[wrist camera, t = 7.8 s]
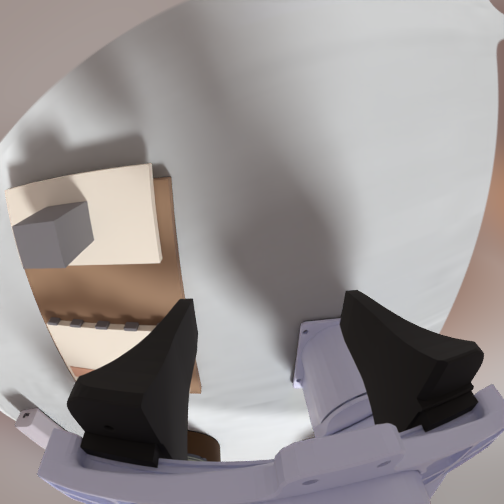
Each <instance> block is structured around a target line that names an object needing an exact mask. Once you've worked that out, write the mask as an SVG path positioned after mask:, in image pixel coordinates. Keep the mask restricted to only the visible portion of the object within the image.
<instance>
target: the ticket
mask: <svg viewBox="0 0 504 504" xmlns="http://www.w3.org/2000/svg"><path fill="white" fill-rule="evenodd" d="M46 324H47V327H48V329H49V331H50V333H51V335H52V337H53V339H54V341H55V344H56V346H57V348H58V350H59V351H60V353H61V355H62V357H63V359H64V361H65V363H66V365H67V366H68V368H69V370H70V372H71V374H72V375H73V377H74V379H75V380H76V381H77V379H78V377H79V376H81V375H84V374H86V373H89V372H91V371H93V370H96V369H98V368H100V367H102V366H104V365H106V364H108V363H110V362H112V361H113V360H115V359H117V358H118V357H120V356H121V355H123V354H124V353H126V352H127V351H129V350H130V349H132V348H133V347H134V346H136V345H137V344H138V343H139V342H140V341H142V340H143V339H144V338H145V337H146V336H147V335H148V334H149V333H150V332H151V331H152V330H153V329H154V328H155V327H156V326H155V325H139V323H138V322H126V324H125V325H123V324H110V322H109V321H98V322H97V323H88V322H84V321H83V320H80V319H73V320H72V321H63V320H60V318H56V317H51V318H50V319H49V321H48V322H47V323H46ZM158 324H159V323H157V325H158ZM189 394H190V391H189Z"/></svg>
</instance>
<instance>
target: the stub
mask: <svg viewBox="0 0 504 504" xmlns="http://www.w3.org/2000/svg"><path fill="white" fill-rule="evenodd" d="M5 196H6V202H7V208H8V213H9V218H10V222H11V227H12V231H13V235H14V239H15V243H16V246H17V250H18V254H19V257H20V260H21V264H22V266H23V268H24V269H44V268H66V267H67V266H70V265H113V264H150V263H160V262H161V260H162V252H161V245H160V238H159V230H158V222H157V214H156V205H155V195H154V185H153V173H152V163H147V164H138V165H130V166H122V167H115V168H108V169H101V170H95V171H89V172H83V173H77V174H72V175H67V176H61V177H56V178H52V179H47V180H42V181H38V182H34V183H29V184H25V185H21V186H17V187H13V188H10V189H7V190H5Z"/></svg>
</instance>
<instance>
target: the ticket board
mask: <svg viewBox="0 0 504 504" xmlns="http://www.w3.org/2000/svg"><path fill="white" fill-rule="evenodd" d="M153 185H154V195H155V205H156V214H157V222H158V230H159V238H160V245H161V252H162V260H161V262H160V263H150V264H113V265H70V266H67V267H66V268H44V269H25V272H26V275H27V278H28V281H29V284H30V287H31V289H32V292H33V295H34V297H35V300H36V303H37V305H38V308H39V310H40V312H41V315H42V317H43V319H44V322H45V324H46V323H47V322H48V321H49V319H50V318H51V317H56V318H60V320H63V321H72V320H73V319H80V320H83V321H84V322H88V323H97V322H98V321H109V322H110V324H123V325H125V324H126V322H138V323H139V325H155V326H157V323H160V322H161V321H162V319H163V318H164V317H165V316H166V315H167V314H168V312H169V311H170V310H171V309H172V308H173V306H174V305H175V304H176V303H177V301H178V300H179V299H185V295H184V289H183V282H182V275H181V267H180V260H179V252H178V243H177V235H176V225H175V216H174V205H173V193H172V180H171V177H163V178H153ZM46 326H47V324H46ZM47 328H48V327H47ZM48 331H49V329H48ZM49 333H50V331H49ZM50 335H51V333H50ZM51 337H52V335H51ZM52 339H53V337H52ZM53 341H54V339H53ZM54 343H55V341H54ZM55 345H56V344H55ZM56 347H57V346H56ZM57 349H58V348H57ZM58 351H59V350H58ZM59 353H60V351H59ZM60 355H61V353H60ZM61 357H62V355H61ZM62 359H63V357H62ZM63 361H64V359H63ZM64 362H65V361H64ZM65 364H66V363H65ZM66 366H67V365H66ZM67 368H68V366H67ZM68 370H69V368H68ZM69 371H70V370H69ZM70 373H71V372H70ZM71 375H72V374H71ZM72 377H73V375H72ZM73 378H74V377H73ZM74 380H75V379H74ZM75 381H76V380H75ZM190 393H199V394H201V382H200V378H199V373H198V368H197V363H196V358H195V364H194V369H193V374H192V380H191V385H190Z"/></svg>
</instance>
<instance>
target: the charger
mask: <svg viewBox="0 0 504 504" xmlns="http://www.w3.org/2000/svg"><path fill="white" fill-rule="evenodd" d="M15 427H16V428H18V429H19V430H20V431H21V432H22V433H24V434H25V435H26V436H28V437H29V438H30V439H31V440H33V441H34V442H35V443H37V444H38V445H39V446H41V447H42V448H43V449H46V446H47V444H48V441H49V438H50V436H51V433H52V431H53V428H58V429H61V430H64V429H63V428H61V427H60V426H59V425H58V424H56V423H55V422H54V421H53V420H51V419H50V418H49V417H48V416H46V415H45V414H44V413H43V412H42V411H41V410H39V409H38V408H34V409H28V410H23V411H21V413H20V415H19V417H18V419H17V421H16V423H15ZM64 431H65V430H64Z"/></svg>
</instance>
